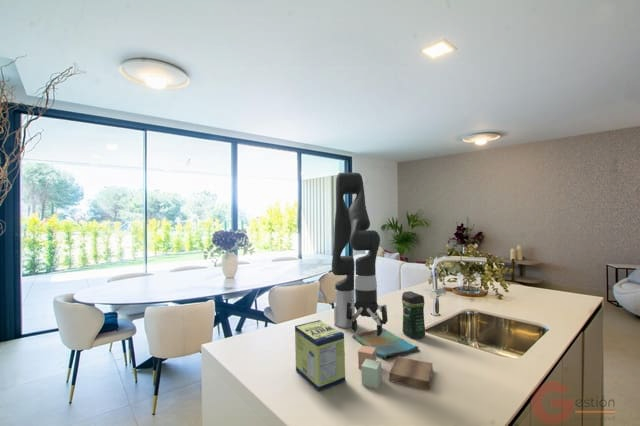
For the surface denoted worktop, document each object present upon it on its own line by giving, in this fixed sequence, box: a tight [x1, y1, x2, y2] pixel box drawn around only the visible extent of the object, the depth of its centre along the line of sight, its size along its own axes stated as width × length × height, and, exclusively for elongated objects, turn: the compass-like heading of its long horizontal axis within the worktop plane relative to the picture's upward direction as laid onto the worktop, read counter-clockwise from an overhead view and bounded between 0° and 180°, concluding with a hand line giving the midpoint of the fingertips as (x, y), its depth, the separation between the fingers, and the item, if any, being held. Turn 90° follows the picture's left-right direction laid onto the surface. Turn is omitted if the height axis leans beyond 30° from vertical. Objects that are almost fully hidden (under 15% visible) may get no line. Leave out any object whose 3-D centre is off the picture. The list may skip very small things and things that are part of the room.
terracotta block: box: [357, 344, 377, 370], centre depth 104 cm, size 5×5×6 cm
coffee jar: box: [401, 290, 426, 339], centre depth 130 cm, size 10×8×19 cm
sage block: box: [360, 359, 382, 389], centre depth 94 cm, size 5×5×6 cm
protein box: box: [294, 319, 346, 392], centre depth 99 cm, size 10×16×16 cm
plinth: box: [388, 356, 434, 390], centre depth 98 cm, size 12×12×2 cm
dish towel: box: [351, 327, 420, 361], centre depth 122 cm, size 17×23×2 cm
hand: (366, 333), depth 104 cm, fingers open, 8 cm apart
